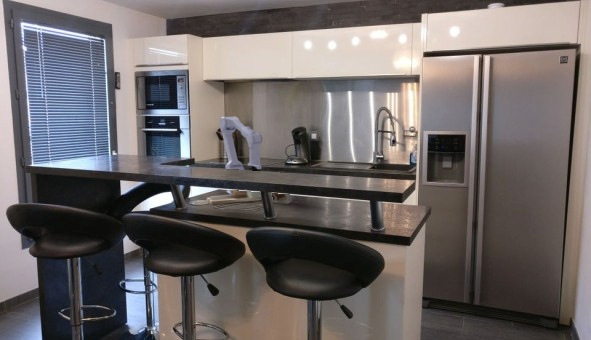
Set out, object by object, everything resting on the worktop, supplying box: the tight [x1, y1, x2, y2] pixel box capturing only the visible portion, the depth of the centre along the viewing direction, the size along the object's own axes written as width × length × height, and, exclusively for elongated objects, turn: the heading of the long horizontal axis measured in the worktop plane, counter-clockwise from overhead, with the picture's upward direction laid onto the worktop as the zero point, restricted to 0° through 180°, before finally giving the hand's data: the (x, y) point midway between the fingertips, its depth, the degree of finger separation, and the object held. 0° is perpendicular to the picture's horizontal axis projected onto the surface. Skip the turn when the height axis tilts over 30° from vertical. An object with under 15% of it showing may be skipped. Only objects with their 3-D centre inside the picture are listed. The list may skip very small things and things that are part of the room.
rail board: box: [206, 194, 262, 205], centre depth 242 cm, size 10×30×3 cm, turn 115°
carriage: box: [230, 190, 247, 198], centre depth 242 cm, size 6×7×7 cm
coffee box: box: [271, 170, 292, 205], centre depth 236 cm, size 9×6×16 cm
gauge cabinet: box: [246, 190, 261, 198], centre depth 246 cm, size 8×7×4 cm
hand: (255, 180), depth 245 cm, fingers closed
